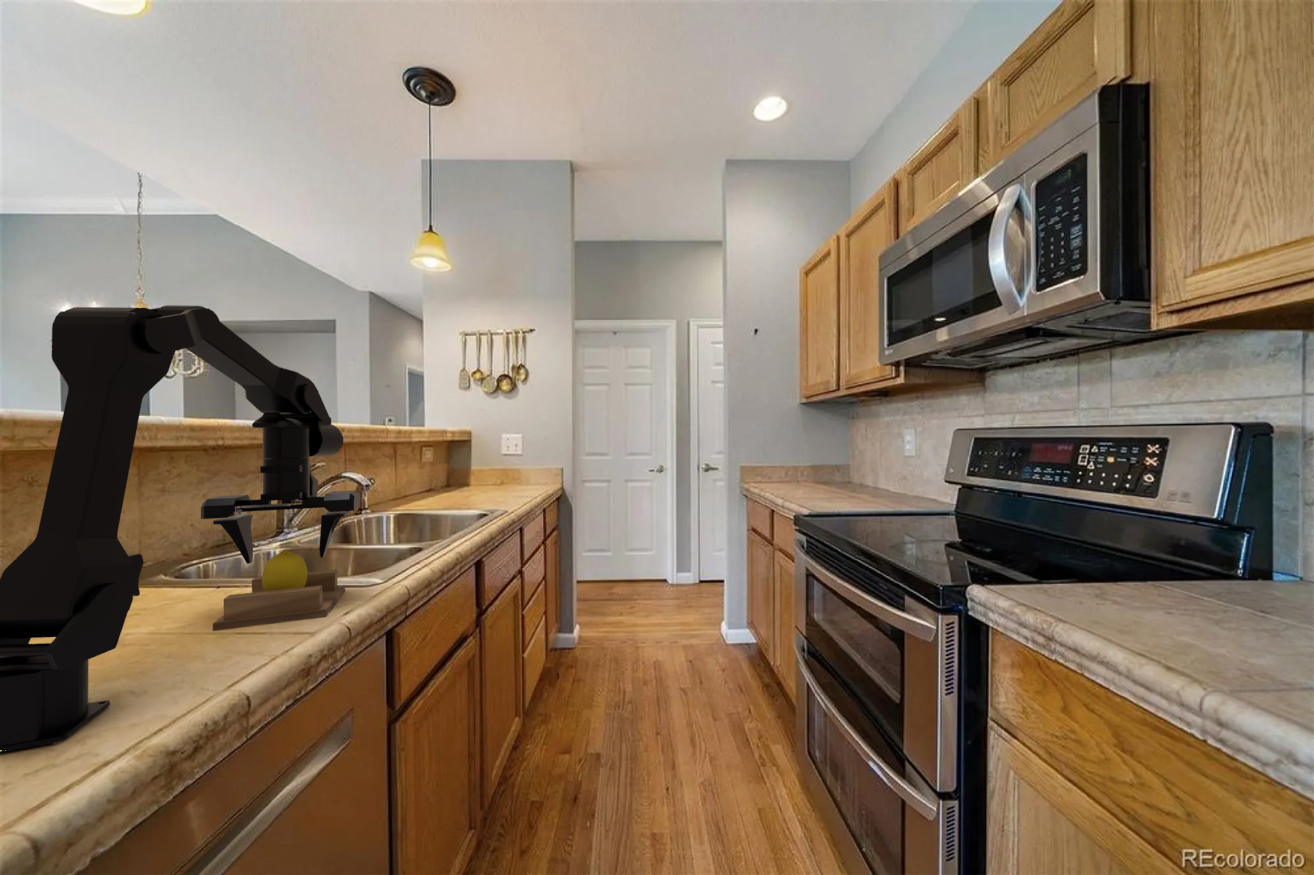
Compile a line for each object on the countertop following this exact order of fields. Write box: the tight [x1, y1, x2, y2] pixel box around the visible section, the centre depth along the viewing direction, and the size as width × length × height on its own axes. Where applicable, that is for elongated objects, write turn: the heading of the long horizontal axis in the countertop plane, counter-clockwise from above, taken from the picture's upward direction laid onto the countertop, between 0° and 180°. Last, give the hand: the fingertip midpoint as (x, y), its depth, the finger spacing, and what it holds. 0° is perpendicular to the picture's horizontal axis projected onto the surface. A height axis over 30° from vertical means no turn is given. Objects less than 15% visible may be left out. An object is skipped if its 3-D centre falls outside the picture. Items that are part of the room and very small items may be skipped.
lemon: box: [261, 549, 309, 591], centre depth 74 cm, size 6×6×8 cm
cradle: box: [212, 569, 346, 631], centre depth 74 cm, size 13×13×4 cm
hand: (286, 559), depth 75 cm, fingers open, 9 cm apart
